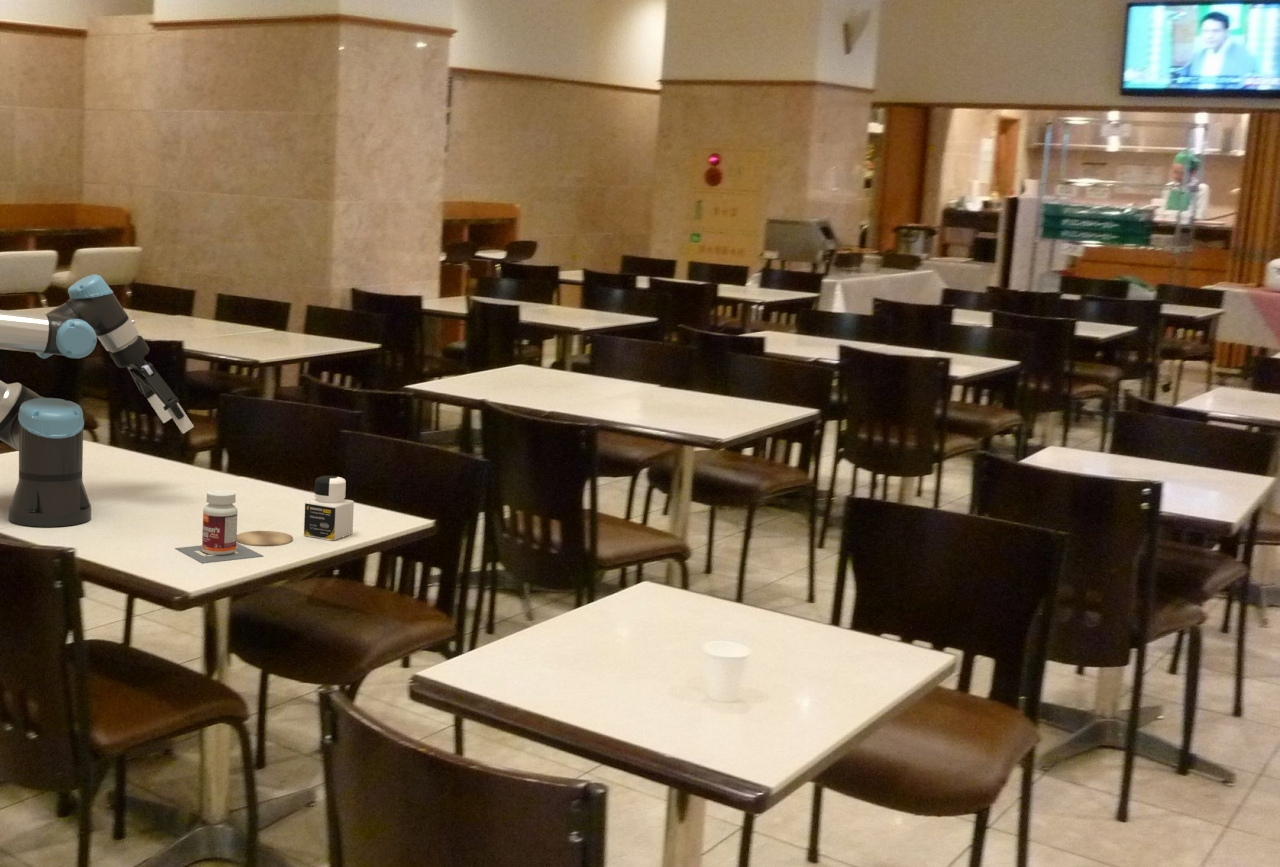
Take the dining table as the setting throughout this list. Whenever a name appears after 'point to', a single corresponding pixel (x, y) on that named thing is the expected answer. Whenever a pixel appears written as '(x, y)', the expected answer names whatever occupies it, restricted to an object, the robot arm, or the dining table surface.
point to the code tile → (203, 557)
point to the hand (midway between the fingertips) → (178, 424)
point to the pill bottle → (219, 523)
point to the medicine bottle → (329, 510)
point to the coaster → (264, 538)
